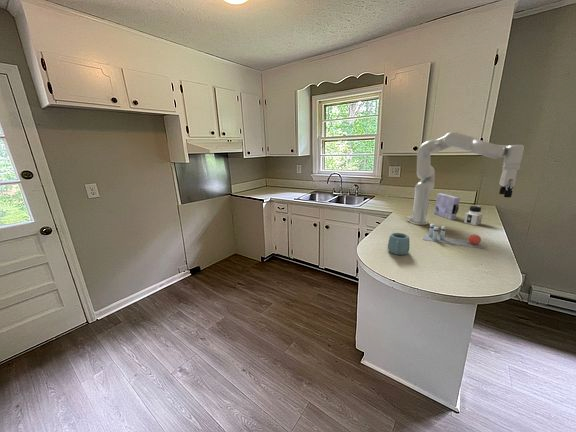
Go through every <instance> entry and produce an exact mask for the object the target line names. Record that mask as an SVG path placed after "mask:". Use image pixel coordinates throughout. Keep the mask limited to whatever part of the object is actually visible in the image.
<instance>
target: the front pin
mask: <svg viewBox="0 0 576 432" xmlns="http://www.w3.org/2000/svg"><path fill="white" fill-rule="evenodd" d="M440 228H441V229H440V233H439V237H440V240H444V237H446V236H445V235H446V231H447V226H443V225H442V226H441V227H440Z"/></svg>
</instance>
